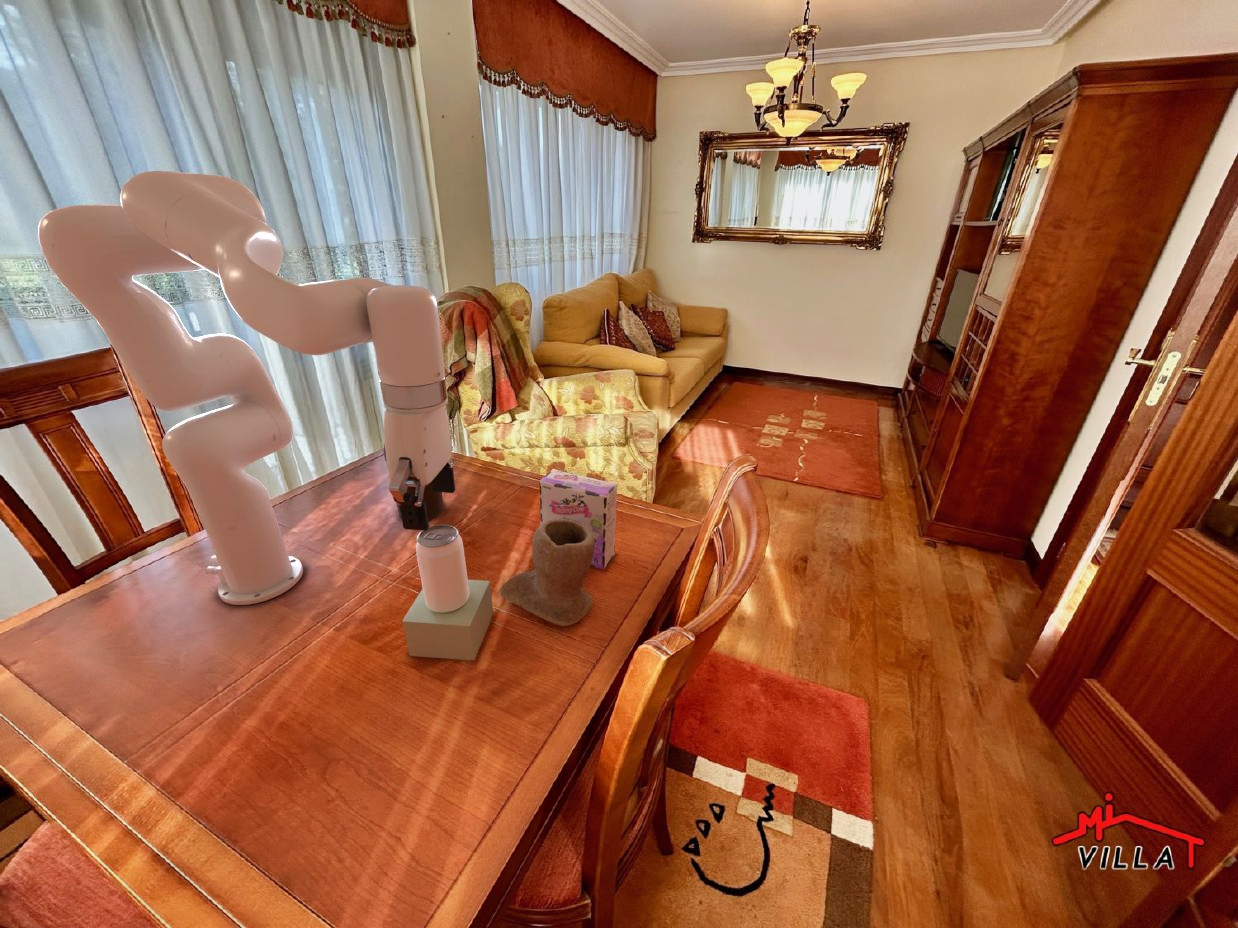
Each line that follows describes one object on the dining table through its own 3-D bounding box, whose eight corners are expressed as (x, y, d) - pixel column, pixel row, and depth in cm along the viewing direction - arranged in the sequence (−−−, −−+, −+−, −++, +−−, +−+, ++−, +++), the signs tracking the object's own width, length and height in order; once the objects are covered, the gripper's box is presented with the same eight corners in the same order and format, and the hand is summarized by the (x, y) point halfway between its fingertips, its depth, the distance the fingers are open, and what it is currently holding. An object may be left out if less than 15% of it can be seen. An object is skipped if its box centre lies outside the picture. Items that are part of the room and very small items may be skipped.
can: (457, 617, 73) (447, 551, 68) (417, 610, 74) (404, 544, 69) (477, 589, 79) (469, 525, 74) (439, 582, 80) (429, 519, 75)
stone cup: (608, 598, 88) (610, 527, 82) (565, 640, 79) (564, 564, 73) (543, 566, 96) (540, 499, 89) (497, 601, 87) (490, 529, 80)
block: (409, 656, 76) (401, 621, 73) (435, 609, 85) (429, 576, 81) (474, 660, 75) (469, 625, 72) (493, 613, 84) (489, 580, 81)
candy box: (540, 552, 100) (537, 480, 92) (554, 537, 104) (552, 467, 97) (604, 570, 95) (605, 496, 88) (615, 553, 100) (618, 481, 93)
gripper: (414, 370, 70) (429, 477, 77) (347, 415, 54) (374, 543, 62) (467, 373, 69) (477, 481, 77) (415, 419, 54) (433, 548, 62)
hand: (431, 509), depth 70 cm, fingers open, 9 cm apart
